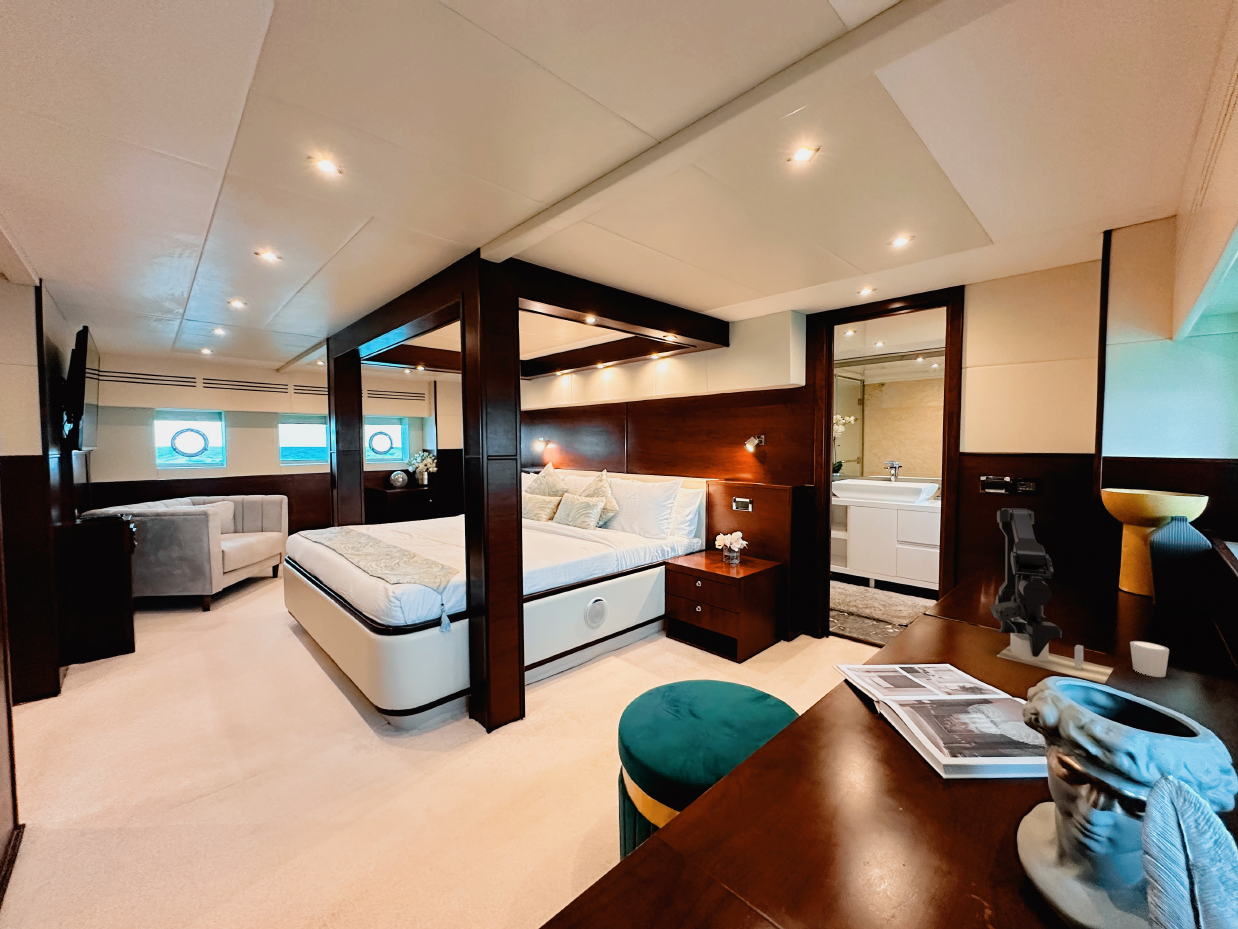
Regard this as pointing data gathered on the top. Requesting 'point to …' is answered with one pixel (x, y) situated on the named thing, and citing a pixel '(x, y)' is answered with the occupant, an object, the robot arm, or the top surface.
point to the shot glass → (1149, 658)
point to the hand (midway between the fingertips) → (1028, 652)
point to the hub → (1026, 648)
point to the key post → (1078, 657)
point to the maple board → (1064, 666)
